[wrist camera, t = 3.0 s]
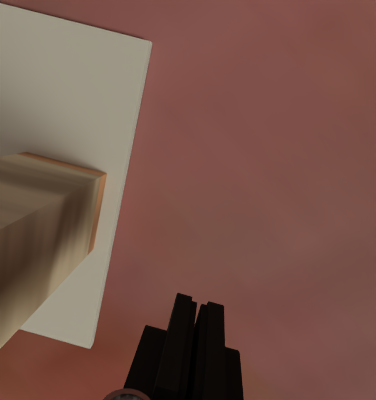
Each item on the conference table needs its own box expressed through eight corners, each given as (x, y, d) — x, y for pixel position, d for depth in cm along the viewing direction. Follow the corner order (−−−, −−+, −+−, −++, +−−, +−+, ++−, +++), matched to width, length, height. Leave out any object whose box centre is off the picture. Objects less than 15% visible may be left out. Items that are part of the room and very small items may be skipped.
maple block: (26, 151, 19) (-220, 199, 8) (107, 173, 19) (-39, 249, 8) (18, 228, 20) (-202, 352, 10) (93, 249, 20) (-47, 397, 10)
